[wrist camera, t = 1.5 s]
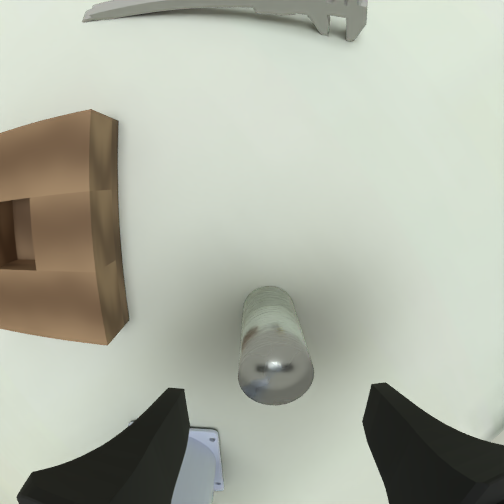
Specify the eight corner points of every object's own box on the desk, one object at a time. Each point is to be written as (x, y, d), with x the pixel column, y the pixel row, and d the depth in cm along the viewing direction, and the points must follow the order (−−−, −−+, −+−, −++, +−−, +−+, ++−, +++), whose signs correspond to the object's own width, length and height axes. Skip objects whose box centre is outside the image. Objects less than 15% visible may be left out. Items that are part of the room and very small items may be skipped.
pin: (292, 332, 21) (310, 403, 14) (243, 332, 21) (239, 405, 14) (294, 285, 21) (316, 343, 13) (242, 286, 21) (237, 344, 13)
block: (129, 320, 21) (107, 345, 17) (0, 306, 21) (-27, 322, 17) (118, 121, 18) (91, 109, 15) (-14, 151, 19) (-45, 150, 15)
